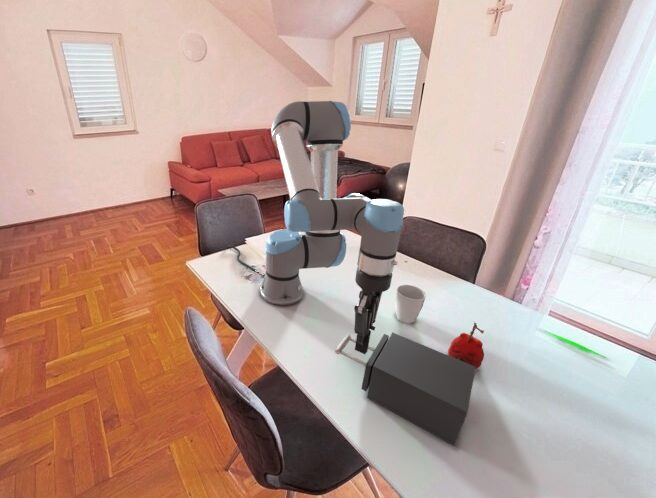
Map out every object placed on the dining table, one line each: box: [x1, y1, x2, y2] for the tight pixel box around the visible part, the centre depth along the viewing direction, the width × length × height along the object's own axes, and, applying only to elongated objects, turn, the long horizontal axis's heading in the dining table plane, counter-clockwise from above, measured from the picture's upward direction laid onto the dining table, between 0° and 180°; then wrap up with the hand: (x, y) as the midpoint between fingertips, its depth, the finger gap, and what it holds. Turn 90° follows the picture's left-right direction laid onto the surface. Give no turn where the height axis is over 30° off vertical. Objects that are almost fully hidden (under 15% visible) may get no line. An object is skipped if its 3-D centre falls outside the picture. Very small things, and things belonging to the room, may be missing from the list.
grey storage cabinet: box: [366, 332, 477, 447], centre depth 71 cm, size 18×14×10 cm
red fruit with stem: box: [447, 322, 485, 371], centre depth 80 cm, size 8×7×15 cm
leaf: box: [545, 330, 607, 358], centre depth 89 cm, size 1×14×1 cm, turn 35°
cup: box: [395, 284, 427, 324], centre depth 98 cm, size 8×8×10 cm
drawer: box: [334, 333, 390, 392], centre depth 75 cm, size 25×13×8 cm, turn 51°
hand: (361, 350), depth 79 cm, fingers closed
